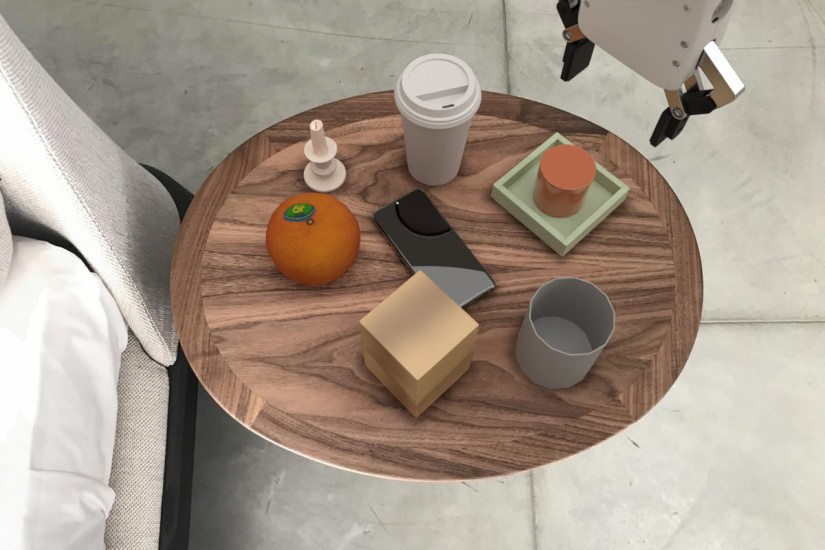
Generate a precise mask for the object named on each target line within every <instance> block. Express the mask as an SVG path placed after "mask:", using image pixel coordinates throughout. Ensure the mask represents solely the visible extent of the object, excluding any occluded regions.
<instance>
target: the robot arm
mask: <svg viewBox="0 0 825 550" xmlns="http://www.w3.org/2000/svg"><path fill="white" fill-rule="evenodd" d="M736 3H737V0H557V3H556V5H555V9H556V11H557V13H558V16H559V18H560V21H561V23H562V25H563V28H564V29H563V30H562V33H561V35H562V38H563V40H564V41H565V42H566V44H565V48H564V52H563V55H562V60H561V61H562V63H563V65H562V69H561V72H560V77H559V79H560V80H562V81H563V82H564V83H569V82H570V81H572V80H573V79H574V78H575V77H576V76H578V75H580V73H582V72H583V71H584V70H586V69H587V68H589V66H590V64H591V61H592V58H593V54H594V50H595V48H596V46H597V47H598V48H600V49H601V50H603V51H604V52H606V53H607V54H608V55H609V56H611V57H613V58H614V59H615V60H617V61H618V62H619V63H621V64H623V65H624V66H626V67H627V68H628V69H630V70H631V71H633V72H634V73H636V74H637V75H638V76H640V77H641V78H643V79H644V80H646V81H648V82H649V83H651V84H652V85H654V86H656V87H658V88H659V89H660V88H661V89H663V92H664V95H665V98H666V102H667V104H668V106H667V107H666V108H665V109H663V111H662V112H661V114H660V116H659V118H658V120H657V122H656V124H655V127H654V129H653V131H652V134H651V136H650V137H649V139H648V142H649V145H651V146H652V147H653V148H657V147H659V145H660V144H661V143H663V142H664V141H665V140H666V139H669V140H670V141H674V140H675V139H676V138H677V137H678V136H679V135H680V134H681V133H682V132H683V130H684V128H685V126H686V124H687V123H688V121H689V119H690V117H691V116H700V115H709V114H711V113H712V112H714V111H716V110H718V109H721V108H723V107H725V106H726V105H729V104H731V103H733V102H734V101H735V100H737V99H738V98H739V97H740V96H741V95H743V94H744V93H745V91H746V86H745V84H744V82H743V81H742V80H741V78H740V77H739V75H738V74H737V72H736V70H735V69H734V68H733V66H732V65H731V63H730V62H729V61H728V59H727V58H726V56H725V55H724V54H723V52H722V51H721V49H720V48H719V47H720V45H721V43H722V40H723V38H724V35H725V33H726V31H727V28H728V25H729V22H730V20H731V17H732V14H733V11H734V8H735V6H736ZM699 69H700V70H701V71H702V72H703V74H704V76H705V77H706V78H707V80H708V81H709V83H710V84H711V85H712V88H708V89H705V88H704V84H703V80H702V78H701V73H700V70H699ZM683 85H684V88H685V92H683V88H682V86H683Z"/></svg>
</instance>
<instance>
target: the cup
mask: <svg viewBox="0 0 825 550" xmlns="http://www.w3.org/2000/svg"><path fill="white" fill-rule="evenodd" d="M615 331H616V312H615V309H614V307H613V304H612V303H611V300H610V298H609V296H608V295H607V294H606V293H605V292H604V291H602V290H601V289H600V288H599V287H598V286H597V285H596V284H594V283H593V282H590V281H587V280H585V279H582V278H579V277H576V276H568V277H567V276H565V277H555V278H553V279H551V280H549V281H547V282H546V283H544V284H542V285H540V286H539V287H538V289H537V290H536V292H535V293H534V294H533V296H532V298H531V299H530V300H529V304H528V306H527V309H526V312H525V315H524V317H523V320H522V324H521V326H520V329H519V332H518V334H517V337H516V342H515V352H514V353H515V354H514V356H515V358H516V361H517V364H518V365H519V368H520V371H521V372H522V373H523V374H524V375H525V376H526V377H527V378H528V379H529V380H530V381H531V382H533V384H536V385H538V386H541V387H543V388H546V389H549V390H562V389H569V388H572V387H573V386H574V385H576V384H578V383H580V382H581V381H583V380H584V379H585V377H586V376H587V374H588V373H589V372H590V370H591V368H592V367H593V365H594V363H595V362H596V361H597V359H598V357H599V356H600V355H601V353H602V351H603V350H604V348H605V347H606V345H607V344H608V343H609V340H610V339H611V337H612V335H613V334H614V332H615Z"/></svg>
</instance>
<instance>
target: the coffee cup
mask: <svg viewBox="0 0 825 550" xmlns="http://www.w3.org/2000/svg"><path fill="white" fill-rule="evenodd" d="M393 99H394V103H395V105H396V108H397V110H398V111H399V113H400V118H401V127H402V133H403V140H404V147H405V155H406V161H407V162H406V163H407V168H408V171H409V173H410V175H411V177H412V178H413V179H414V180H416V181H417V182H419V183H420V184H423V185H424V186H425V185H426V186H430V187H438V186H443V185H446V184H448V183H449V182H451V181H453V180H454V179H455V177H457V175H458V173H459V170H460V168H461V163H462V159H463V154H464V152H465V147H466V144H467V140H468V136H469V132H470V128H471V124H472V121H473V117H474V115H475V114H476V113H477V111H478V110H479V108H480V106H481V103H482V89H481V85H480V83H479V80H478V78H477V76H476V75H475V73H474V72H473V70H472V69H471V67H470V66H469V65H468V64H467V63H466V62H465V61H464V60H462V59H460V58H459V57H457V56H453V55H451V54H446V53H430V54H425V55H422V56H419V57H416V58H415V59H414V60H412V61H411V62H410V63H409V64H408V65H407V66H406V67H405V69H404V70H403V71H401V74H400V75H399V77H398V78H397V81H396V83H395V86H394V90H393Z"/></svg>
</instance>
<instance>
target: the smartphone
mask: <svg viewBox="0 0 825 550" xmlns="http://www.w3.org/2000/svg"><path fill="white" fill-rule="evenodd" d="M371 220H372V222H373V223H374V224H375V226H376V227H377V228H378V230H379V231H380V233H381V234H382V235H383V236H384V238H385V239H386V240H387V241H388V243H389V245H390V246H392V248H393V250H394V251H395V252H396V254H397V255H398V256H399V258H400V259H401V261H402V262H403V263H404V265H405V266H406V267H407V269H408V270H409V271H410V273H411V274H412V276H413V275H415V274H416V273H417V272H418V271H419V270H421V271H422V272H423V273H424V274H425V275H427V276H428V277H429V278H430V279H431V280H432V281H433V282H434V283H435V284H436V285H437V286H438V287H439V288H440V289H442V290H443V291H444V292H445V293H446V294H447V295H448V296H449V297H450V298H451V299H452V300H453V301H454V302H455V303H457V304H458V305H459V306H460V307H461V308H462V309H463V310H464V309H465V308H467V307H468V306H470V305H472V304H473V303H475V302H477V301H478V300H480V299H482V298H483V297H485V296H486V295H488V294H490V293H491V292H493V291H494V290H495V289H496V287H497V285H496V283H497V282H496V281H495V280H494V278H493V277H492V276H491V275H490V274H489V272H488V271H487V269H486V268H485V267H484V265H483V264H482V263H481V262H480V261H479V259H477V257H476V255H475V254H474V253H473V252H472V251H471V249H470V248H469V247H468V246H467V244H466V243H465V241H463V239H462V238H461V236H460V235H459V234H458V233H457V232H456V230H455V229H454V228H453V226H452V225H451V223H450V222H449V221H448V220H447V219H446V218H445V216H444V215H443V214H442V212H441V211H440V210H439V208H438V207H437V206H436V205H435V204H434V203H433V201H432V200H431V199H430V198H429V196H428V195H427V194H426V192H425V191H424V190H423V189H421V188H415V189H413V190H411V191H409V192H407V193H405V194H404V195H402V196H399V197H398V198H396V199H395V200H393V201H391V202H389V203H387V204H385V205H384V206H382V207H380V208H378V209H376V210H375V211H374V212H372V214H371Z"/></svg>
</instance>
